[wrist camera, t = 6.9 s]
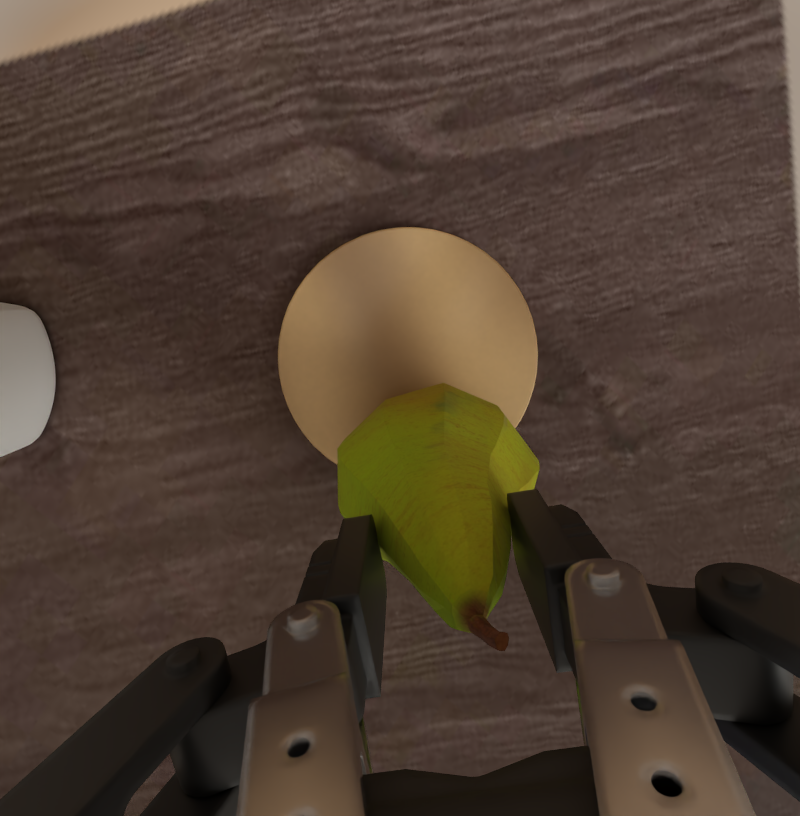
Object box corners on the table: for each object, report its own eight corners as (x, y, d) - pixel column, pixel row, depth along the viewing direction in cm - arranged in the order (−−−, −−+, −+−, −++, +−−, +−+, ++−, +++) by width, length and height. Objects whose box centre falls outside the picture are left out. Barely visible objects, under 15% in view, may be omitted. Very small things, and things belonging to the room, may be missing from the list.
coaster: (420, 168, 19) (420, 165, 18) (585, 372, 20) (591, 375, 20) (228, 350, 20) (222, 352, 20) (396, 526, 22) (396, 532, 21)
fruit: (347, 520, 21) (275, 830, 9) (348, 367, 19) (265, 496, 7) (507, 525, 21) (644, 841, 9) (520, 372, 19) (704, 511, 7)
